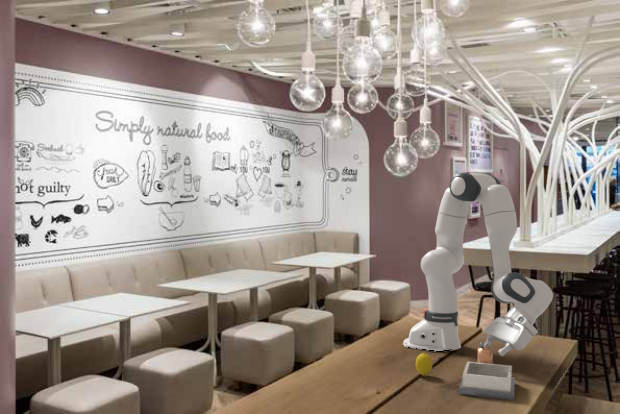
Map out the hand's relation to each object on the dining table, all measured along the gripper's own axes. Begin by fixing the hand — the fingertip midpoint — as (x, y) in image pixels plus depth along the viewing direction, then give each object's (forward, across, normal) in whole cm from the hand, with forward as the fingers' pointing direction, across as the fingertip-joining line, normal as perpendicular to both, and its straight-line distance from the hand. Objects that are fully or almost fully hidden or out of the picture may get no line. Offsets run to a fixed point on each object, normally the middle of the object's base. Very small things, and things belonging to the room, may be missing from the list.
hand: (492, 350), depth 211 cm
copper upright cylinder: (+7, 0, +3) cm, 8 cm away
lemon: (+23, 0, -13) cm, 26 cm away
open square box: (+13, +16, -3) cm, 21 cm away
